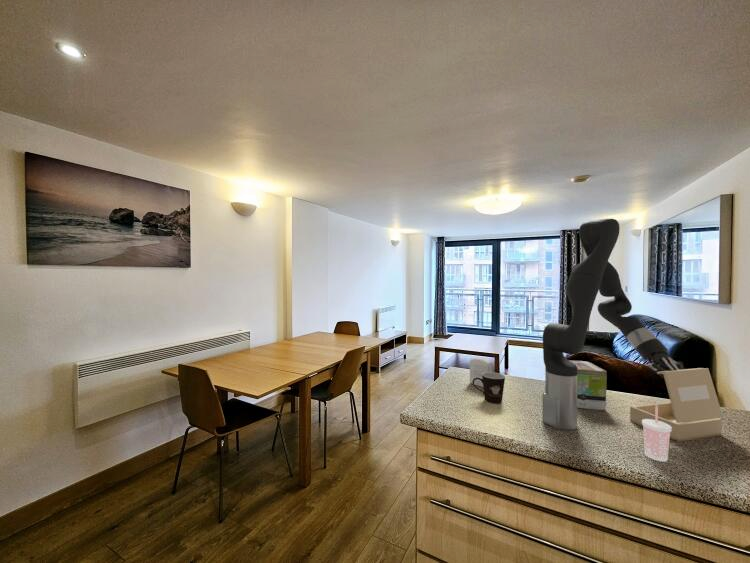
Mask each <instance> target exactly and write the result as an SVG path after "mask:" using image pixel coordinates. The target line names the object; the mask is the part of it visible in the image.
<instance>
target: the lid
mask: <svg viewBox="0 0 750 563" xmlns="http://www.w3.org/2000/svg"><path fill="white" fill-rule="evenodd" d="M709 369H710V368H708V367H706V368H704V367H697V368H687V369H686V368H684V370H672V371H660V372H657V374H664V378H665V379H664V378H663V379H664V382H665V385H666V389H667V393H668V397H669V402H671V404H672V408H673V412H674V416H675V420H676V423H682V422H689V421H697V420H704V419H712V418H724V415H723V412H722V409H721V405H720V401H719V399H718V395H717V393H716V389H715V386H714V382H713V379H712V375H711V373H710V370H709ZM657 374H656V375H657Z"/></svg>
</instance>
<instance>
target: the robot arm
mask: <svg viewBox="0 0 750 563" xmlns="http://www.w3.org/2000/svg"><path fill="white" fill-rule="evenodd" d="M620 228H621V227H620V223H619V221H618V220H617V219H615V218H602V219H595V220H587V221H584V222H582V223H581V225H579V230H578V235H579V236H578V237H579V241H580V243H581V246H582V248H583V250H584V252H585V254H586V257H585V258H584V259H583V260H582V261H581V262H579V263H578V264H577V265H576V266H575V267H573V269H572V271H571V272H570V275H569V277H568V282H566V283H567V284H566V288H565V290H566V295H567V298H568V300H569V304H570V305H571V308H572V309H571V310H572V317H571V320H570V323H569V324H562V323H555V322H553V323H548V324H547V325H546V326H545V327H544V329H543V333H542V353H543V354H542V355H543V357H542V358H543V363H544V366H545V368H544V370H545V371H544V372H545V373H544V375H545V376H544V377H545V378H544V380H545V381H544V383H545V384H544V385H545V386H544V387H545V388H544V393H542V408H541V409H542V411H541V412H542V413H541V414H542V417H541V420H542V422H544V423H545V424H547V425H549V426H550V427H552V428H554V429H555V430H564V431H565V430H566V431H573V430H576V429H577V427H578V407H577V374H578V369H577V366H576V365H575V364H574V363H572V362H570V361H569V359H567V357H566V356H565V355H564V354H569V355H573V356H574V355H575V356H576V355H578V354H580V352H581V351H582V349H583V347H584V344H585V341H586V337H587V333H588V327H589V323H590V318H591V314H592V312H593V307H594V304H595V302H596V298H597V295H598V293H599V294H600V296H602V297H606V298H610V297H611V298H610V299H608V300H607V299H606V300H603V301H602V302H600V303H598V305H597V311H598V314H599V315H600V316H601V317H602V319H604V320H606V321H608V322H609V323H610V324H611V325H613V326H614V327H615V328H617V329H618V330H620V332H621V333H622V335H624V336H625V338H626V339H627V340H628V342H629V344H630V345H631V346H632V347H633V349H634V350H636V352H637V354H638V355H640V357H641V358H642V359H643V360H644V361H647V362H648V363H649V366H647V369H648V370H649V371H651V372H653V373H654V374H656V375H657V376H659V377H660V378H661V379H664V380H665V378H664V374H657V372H660V371H672V370H684V369H685V367H684V364H683V362H682V361H681V360H680V361H676V360H674V359H673V358H672V357H671V356H670V355H669V354H668V348H667V347H666V345H664V343H663V342H661V341H660V339H659V338H658V337H657V336H656V335H655V334H654V332H652V331H651V330H650V329H648V328H647V327H646V325H645V324H644V323H643V322H642V321H641V320H640V319H639V318H638V317H637V316H634V315H633V316H632V315H631V316H624V315H627V314H629V313H630V312H632V302H631V301H630V300H629V298H628V297H627V295H626V293H625V291H624V290H623V288H622V283H621V278H620V274H619V273H618V270H617V269H616V268H615V267H614V265H612V263H611V262H610V261H609V259H610V257H611V255H612V252H613V250H614V248H615V246H616V244H617V241H618V238H619V236H620Z"/></svg>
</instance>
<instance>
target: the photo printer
mask: <svg viewBox="0 0 750 563" xmlns="http://www.w3.org/2000/svg"><path fill="white" fill-rule="evenodd" d="M485 372H493V363H492V362H490V361H489V360H487V359H486V358H483V357H472V358H470V360H469V384H472V385H473V383H472V382H473V379H475V378H480V379H482V374H483V373H485ZM474 385H475V386H477V387H481V388H483V383H482V382H481V380H479V379H476V380H475V381H474Z"/></svg>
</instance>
